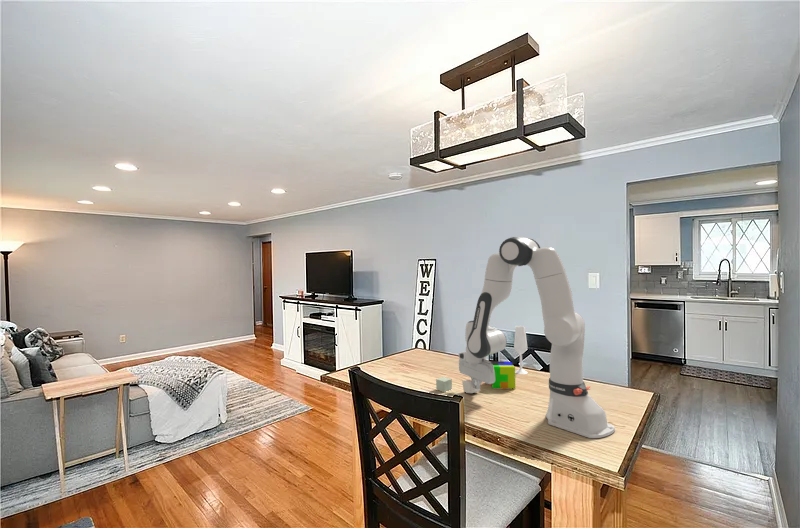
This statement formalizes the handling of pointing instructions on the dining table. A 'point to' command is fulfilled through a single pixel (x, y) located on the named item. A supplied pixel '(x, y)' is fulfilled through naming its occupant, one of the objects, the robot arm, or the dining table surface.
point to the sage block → (443, 384)
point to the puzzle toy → (504, 374)
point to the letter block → (469, 386)
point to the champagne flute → (520, 345)
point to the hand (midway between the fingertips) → (476, 388)
